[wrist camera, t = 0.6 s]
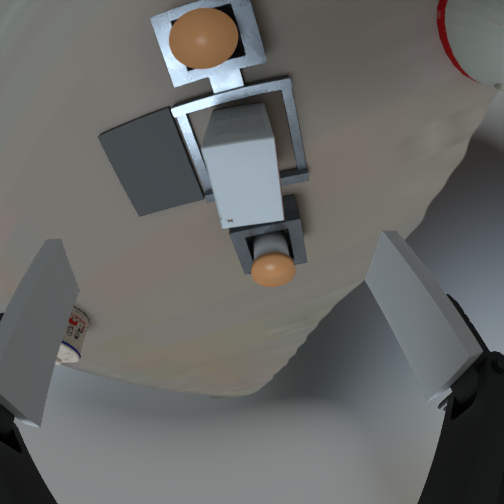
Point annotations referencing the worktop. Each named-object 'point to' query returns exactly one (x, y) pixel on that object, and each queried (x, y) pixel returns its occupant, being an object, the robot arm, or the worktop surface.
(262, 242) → the plunger
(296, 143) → the housing
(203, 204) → the worktop surface
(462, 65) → the white red kettle
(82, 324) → the teacup with lid
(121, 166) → the mat
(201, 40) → the plunger
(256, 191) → the small box
